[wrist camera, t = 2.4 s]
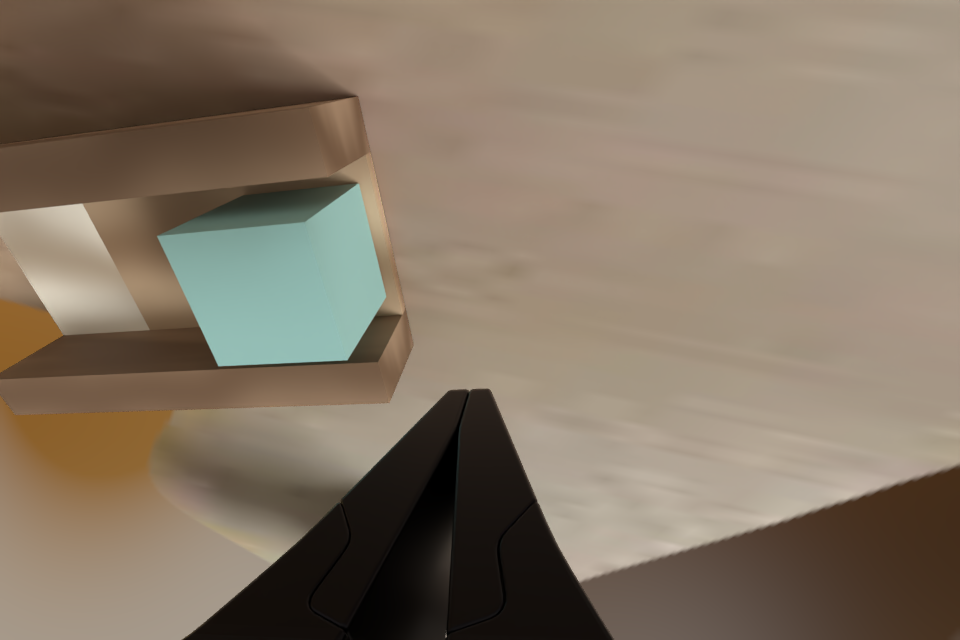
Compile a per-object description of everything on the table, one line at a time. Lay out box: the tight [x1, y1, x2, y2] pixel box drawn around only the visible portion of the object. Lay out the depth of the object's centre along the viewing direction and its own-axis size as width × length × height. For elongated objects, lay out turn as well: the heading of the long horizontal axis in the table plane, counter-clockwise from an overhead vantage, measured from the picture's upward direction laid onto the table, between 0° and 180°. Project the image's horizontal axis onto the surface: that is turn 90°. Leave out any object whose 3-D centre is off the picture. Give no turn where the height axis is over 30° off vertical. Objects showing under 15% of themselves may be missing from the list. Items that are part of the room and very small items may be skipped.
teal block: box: [157, 183, 386, 366], centre depth 18 cm, size 5×5×5 cm
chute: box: [0, 96, 414, 415], centre depth 19 cm, size 11×18×4 cm, turn 97°
